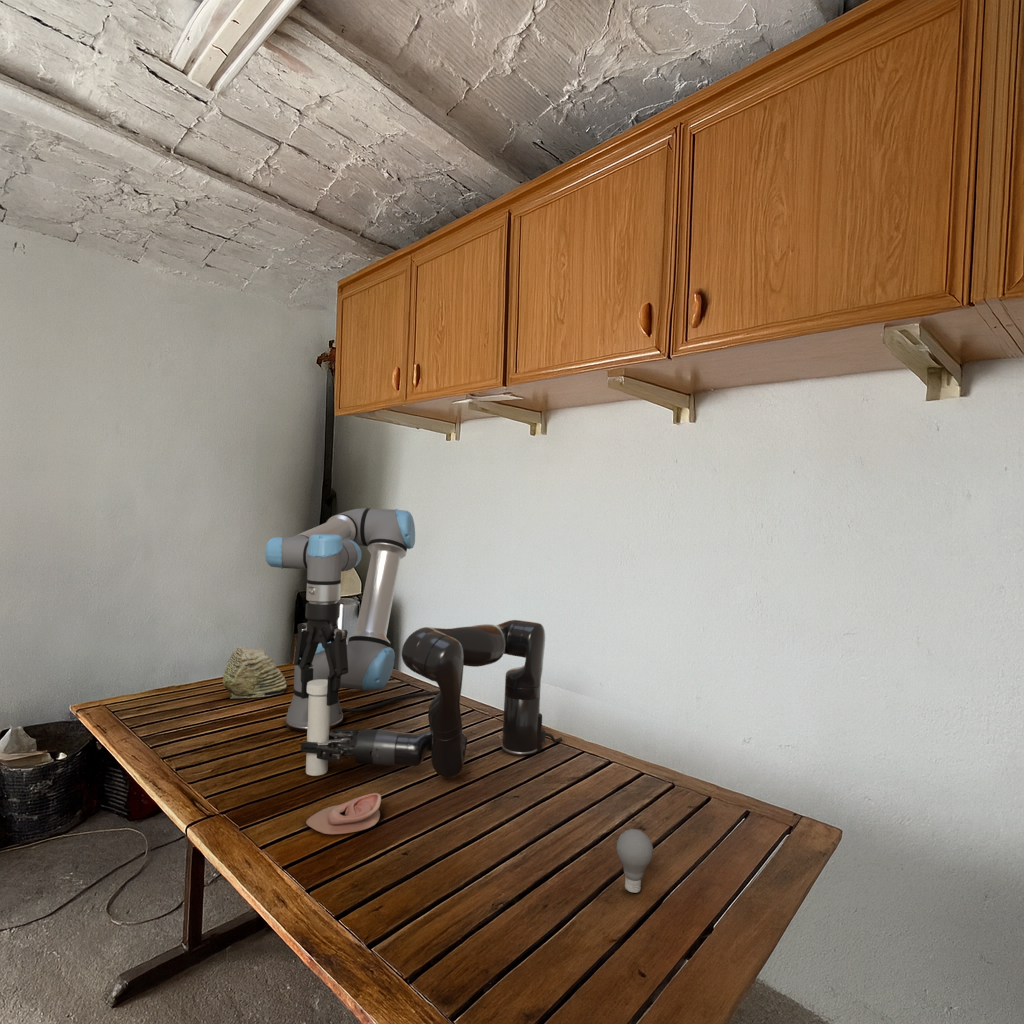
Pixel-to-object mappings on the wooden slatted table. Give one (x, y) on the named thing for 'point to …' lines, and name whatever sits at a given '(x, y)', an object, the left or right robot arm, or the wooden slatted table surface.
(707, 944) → the wooden slatted table surface
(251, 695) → the fossil
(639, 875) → the light bulb
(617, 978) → the wooden slatted table surface
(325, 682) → the lid
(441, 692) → the right robot arm
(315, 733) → the jar
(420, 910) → the wooden slatted table surface
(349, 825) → the anatomical model
